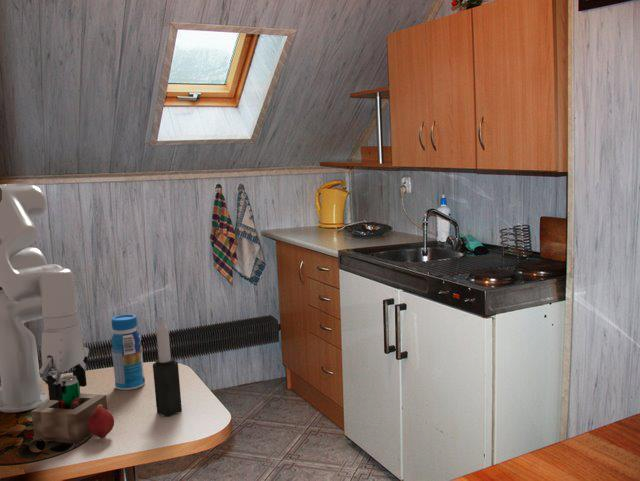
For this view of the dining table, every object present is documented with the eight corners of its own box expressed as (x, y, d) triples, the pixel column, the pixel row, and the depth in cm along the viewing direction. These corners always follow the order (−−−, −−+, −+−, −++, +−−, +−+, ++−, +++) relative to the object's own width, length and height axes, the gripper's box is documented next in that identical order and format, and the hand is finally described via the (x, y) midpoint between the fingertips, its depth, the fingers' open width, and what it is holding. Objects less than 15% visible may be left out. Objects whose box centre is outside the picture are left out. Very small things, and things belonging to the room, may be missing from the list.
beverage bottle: (109, 390, 185) (102, 320, 182) (124, 380, 193) (117, 313, 190) (136, 391, 183) (130, 321, 180) (150, 380, 191) (144, 313, 188)
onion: (100, 445, 150) (97, 411, 149) (83, 440, 153) (80, 407, 152) (120, 435, 155) (117, 402, 153) (104, 431, 158) (100, 398, 156)
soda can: (76, 431, 156) (70, 382, 154) (56, 430, 157) (51, 381, 155) (87, 422, 161) (82, 374, 159) (69, 421, 162) (63, 374, 160)
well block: (34, 439, 155) (31, 411, 154) (67, 419, 166) (64, 392, 165) (78, 443, 151) (75, 414, 150) (109, 422, 163) (106, 394, 162)
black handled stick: (155, 412, 167) (146, 316, 164) (172, 406, 171) (163, 311, 167) (166, 417, 164) (158, 319, 160) (183, 410, 167) (175, 314, 164)
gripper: (70, 312, 164) (77, 379, 167) (21, 331, 148) (30, 405, 150) (96, 312, 162) (103, 380, 165) (49, 332, 146) (58, 407, 148)
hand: (68, 392), depth 157 cm, fingers open, 8 cm apart
